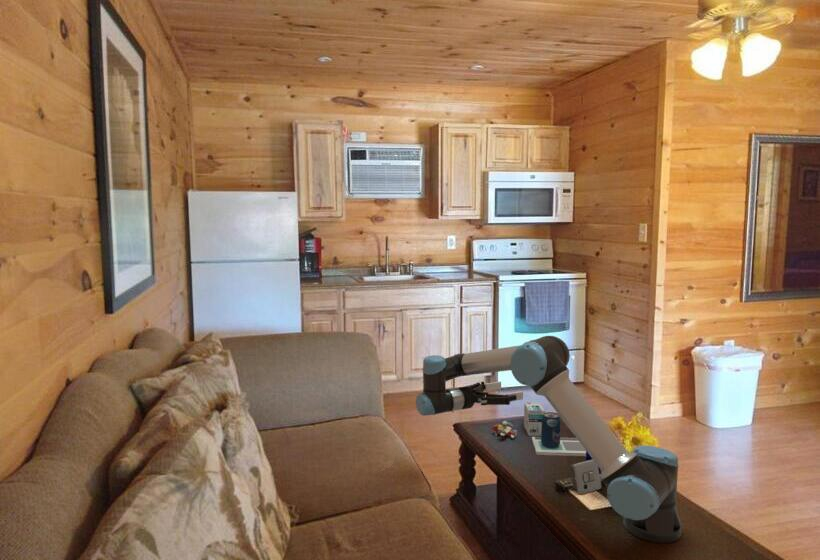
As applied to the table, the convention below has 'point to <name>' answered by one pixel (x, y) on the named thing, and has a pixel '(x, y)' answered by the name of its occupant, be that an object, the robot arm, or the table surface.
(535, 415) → the light bulb box
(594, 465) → the electrical switch
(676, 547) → the table surface
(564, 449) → the white teal rectangular board
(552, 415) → the soda can
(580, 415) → the robot arm
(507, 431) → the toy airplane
